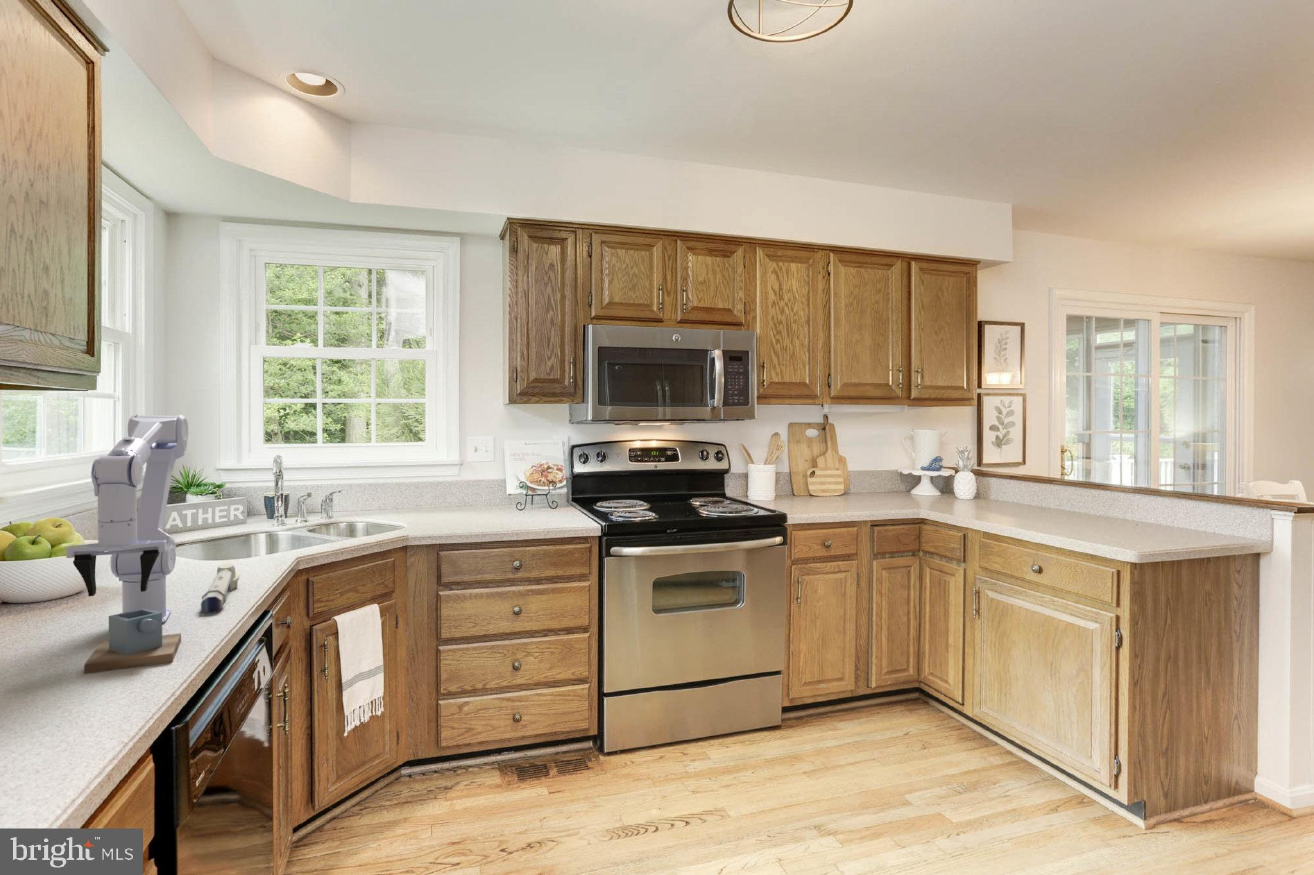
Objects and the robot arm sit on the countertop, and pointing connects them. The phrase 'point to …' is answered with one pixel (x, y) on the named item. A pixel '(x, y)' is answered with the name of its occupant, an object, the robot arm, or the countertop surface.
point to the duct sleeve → (135, 631)
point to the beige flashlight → (219, 588)
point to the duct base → (132, 656)
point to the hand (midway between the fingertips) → (118, 592)
